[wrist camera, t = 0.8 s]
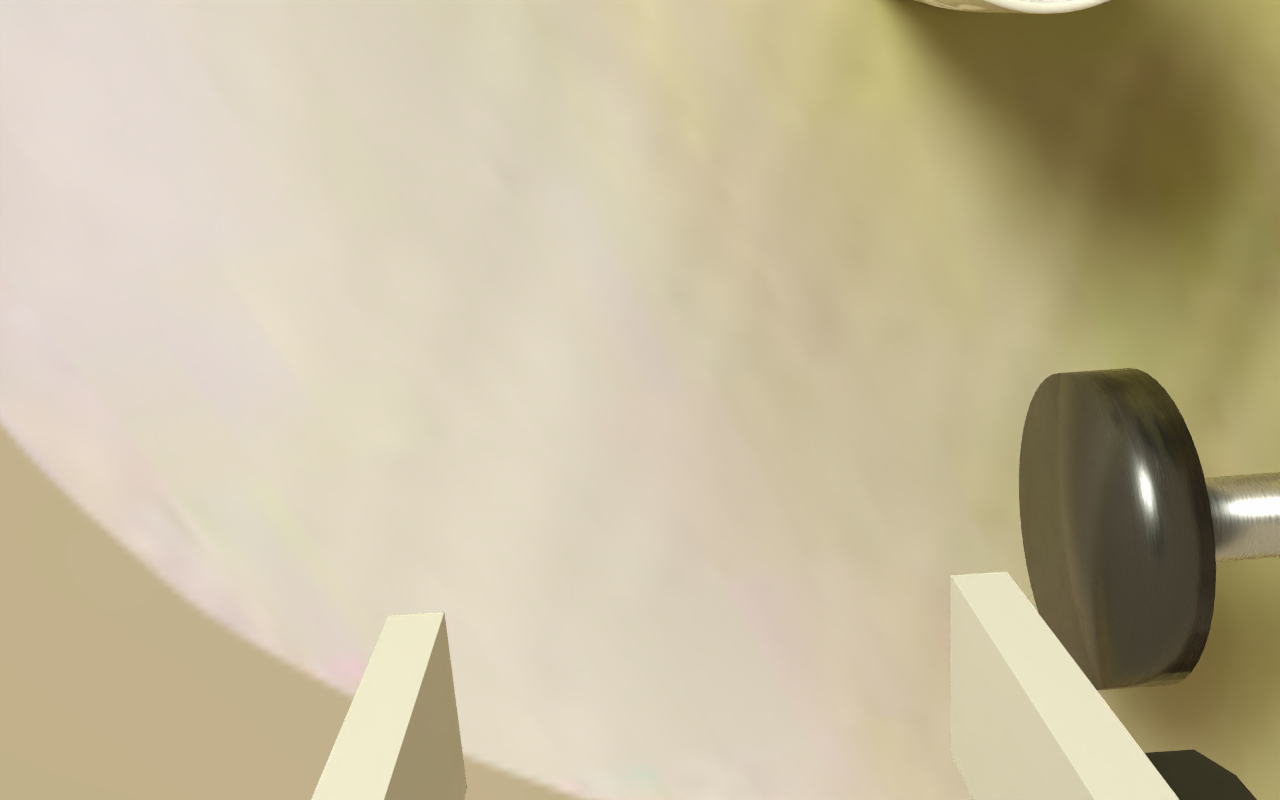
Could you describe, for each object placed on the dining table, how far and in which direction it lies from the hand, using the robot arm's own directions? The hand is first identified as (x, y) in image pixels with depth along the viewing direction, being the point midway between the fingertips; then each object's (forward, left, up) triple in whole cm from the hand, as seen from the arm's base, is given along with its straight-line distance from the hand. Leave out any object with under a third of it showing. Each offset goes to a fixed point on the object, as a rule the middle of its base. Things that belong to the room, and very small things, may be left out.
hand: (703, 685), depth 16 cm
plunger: (-7, +19, -22) cm, 30 cm away
